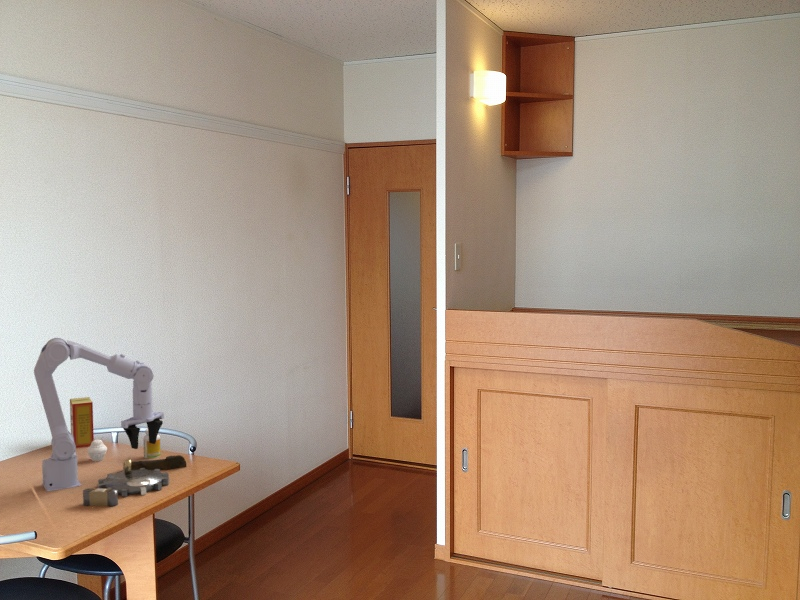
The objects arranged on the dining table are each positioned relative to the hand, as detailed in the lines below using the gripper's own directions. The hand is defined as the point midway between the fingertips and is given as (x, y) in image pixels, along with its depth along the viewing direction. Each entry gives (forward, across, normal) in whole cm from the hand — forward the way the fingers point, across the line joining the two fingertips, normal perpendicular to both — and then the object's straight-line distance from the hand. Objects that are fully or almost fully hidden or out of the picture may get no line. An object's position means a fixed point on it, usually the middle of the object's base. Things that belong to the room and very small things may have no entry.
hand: (143, 445), depth 231 cm
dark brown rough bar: (+10, +5, +1) cm, 11 cm away
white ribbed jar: (+10, +1, +26) cm, 27 cm away
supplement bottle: (+10, +14, +13) cm, 21 cm away
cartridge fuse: (+9, -24, -12) cm, 28 cm away
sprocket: (+9, -8, -6) cm, 14 cm away
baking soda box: (+10, +10, +47) cm, 49 cm away
